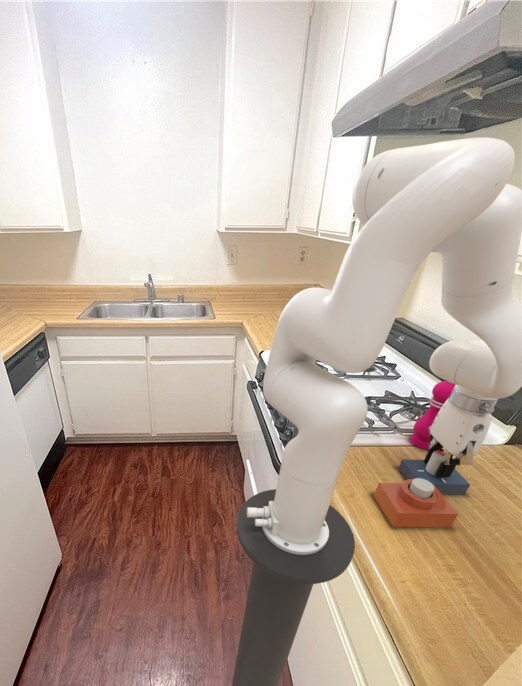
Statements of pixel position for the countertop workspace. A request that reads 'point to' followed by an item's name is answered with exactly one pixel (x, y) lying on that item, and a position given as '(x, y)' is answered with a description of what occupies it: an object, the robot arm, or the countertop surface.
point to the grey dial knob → (435, 461)
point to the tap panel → (434, 477)
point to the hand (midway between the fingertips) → (436, 468)
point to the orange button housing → (413, 506)
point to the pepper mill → (431, 414)
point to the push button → (421, 488)
